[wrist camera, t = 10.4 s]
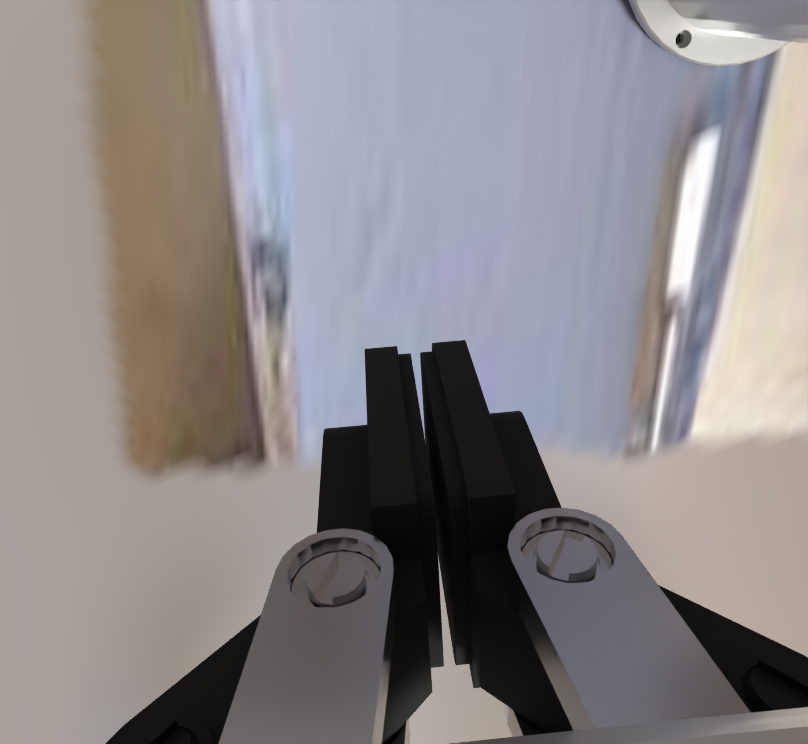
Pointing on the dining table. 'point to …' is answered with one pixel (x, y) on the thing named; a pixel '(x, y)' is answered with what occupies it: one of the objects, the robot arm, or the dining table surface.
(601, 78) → the dining table surface
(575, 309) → the dining table surface
